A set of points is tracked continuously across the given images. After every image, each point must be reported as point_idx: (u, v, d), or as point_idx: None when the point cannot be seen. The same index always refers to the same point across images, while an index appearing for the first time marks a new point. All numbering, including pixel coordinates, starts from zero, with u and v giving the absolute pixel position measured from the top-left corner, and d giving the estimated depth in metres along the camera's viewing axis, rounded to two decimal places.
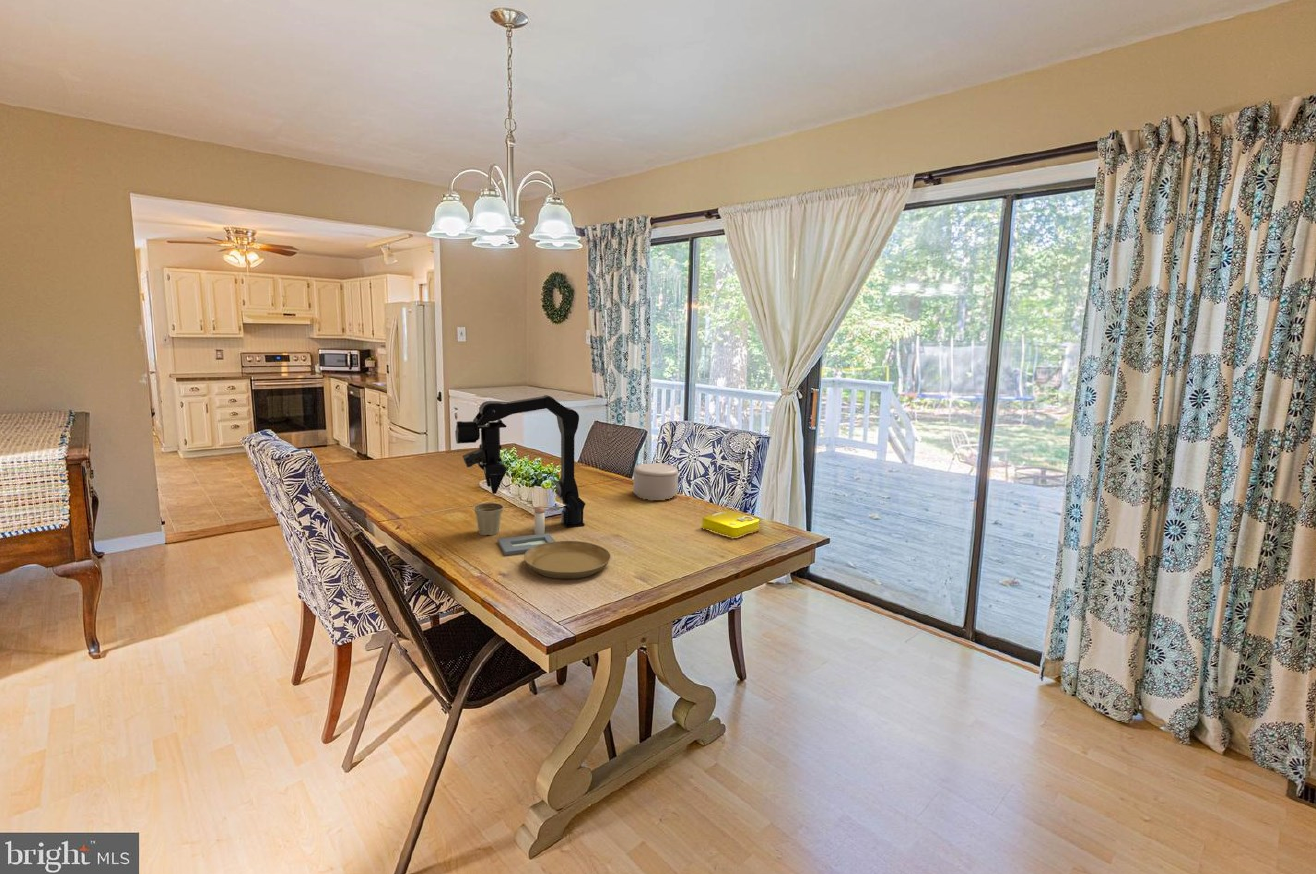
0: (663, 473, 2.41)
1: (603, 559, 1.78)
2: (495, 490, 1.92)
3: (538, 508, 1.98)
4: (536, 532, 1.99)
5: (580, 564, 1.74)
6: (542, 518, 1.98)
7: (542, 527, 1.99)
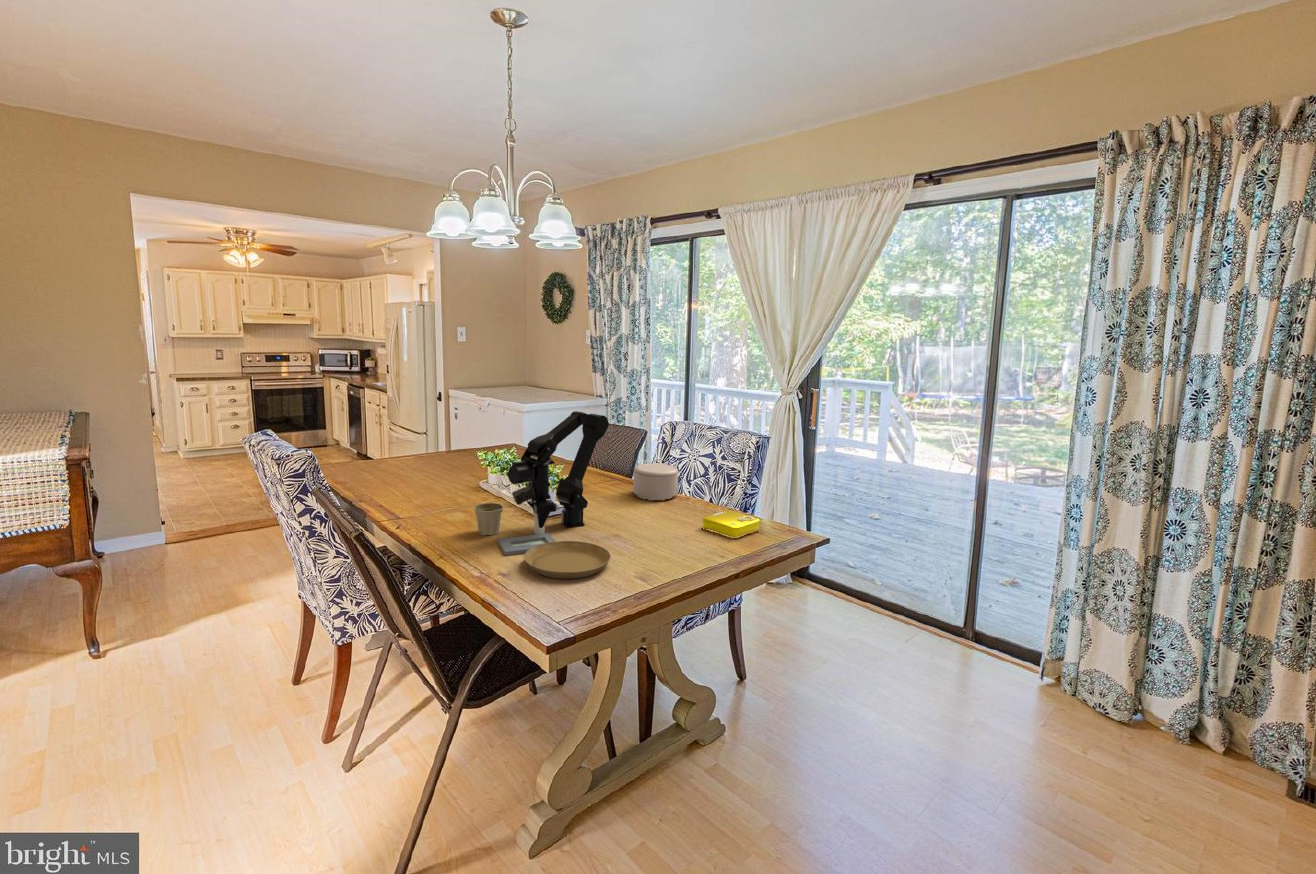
0: (663, 473, 2.41)
1: (603, 559, 1.78)
2: (542, 524, 1.98)
3: None
4: (536, 532, 1.99)
5: (580, 564, 1.74)
6: None
7: None
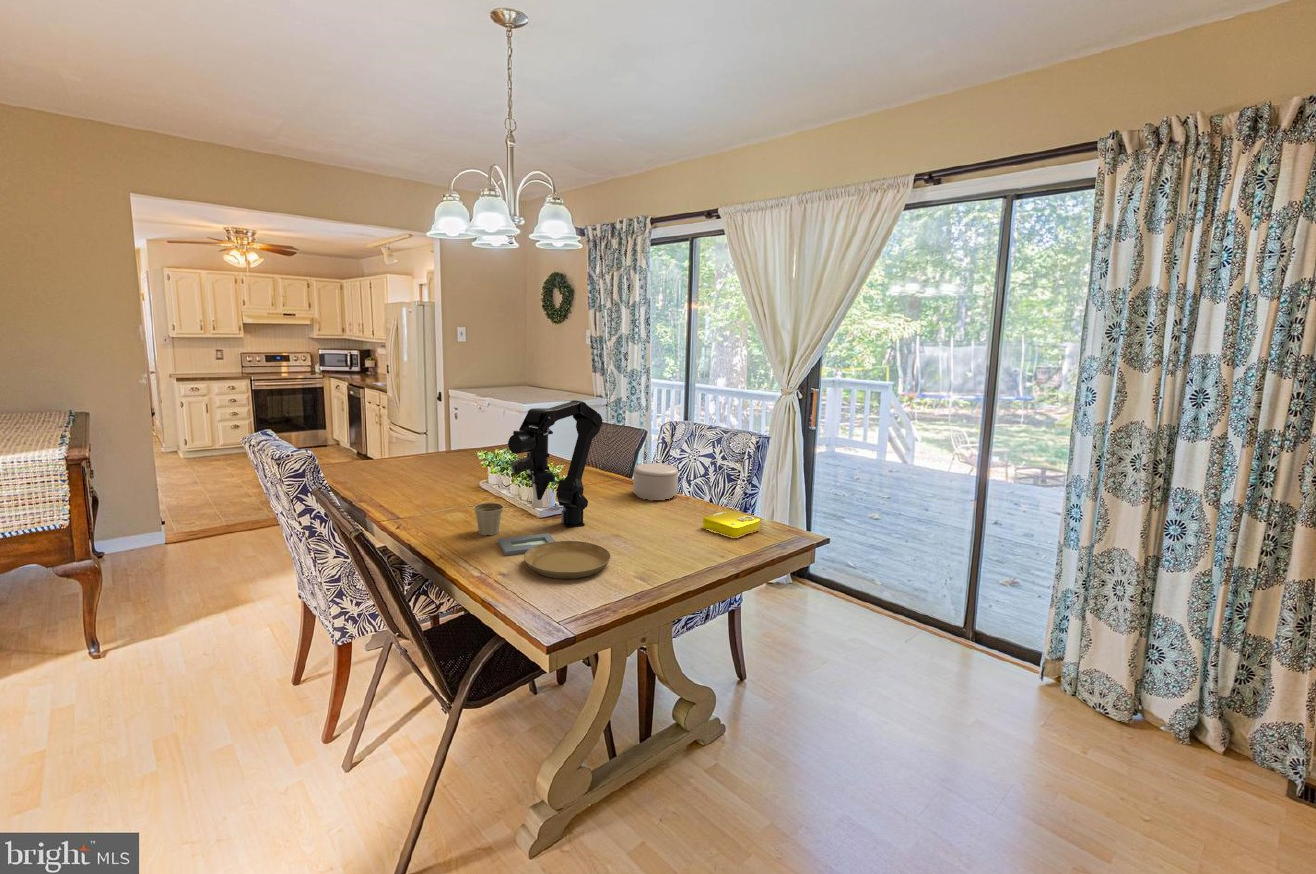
0: (663, 473, 2.41)
1: (603, 559, 1.78)
2: (540, 496, 1.92)
3: None
4: (534, 504, 1.93)
5: (580, 564, 1.74)
6: None
7: None
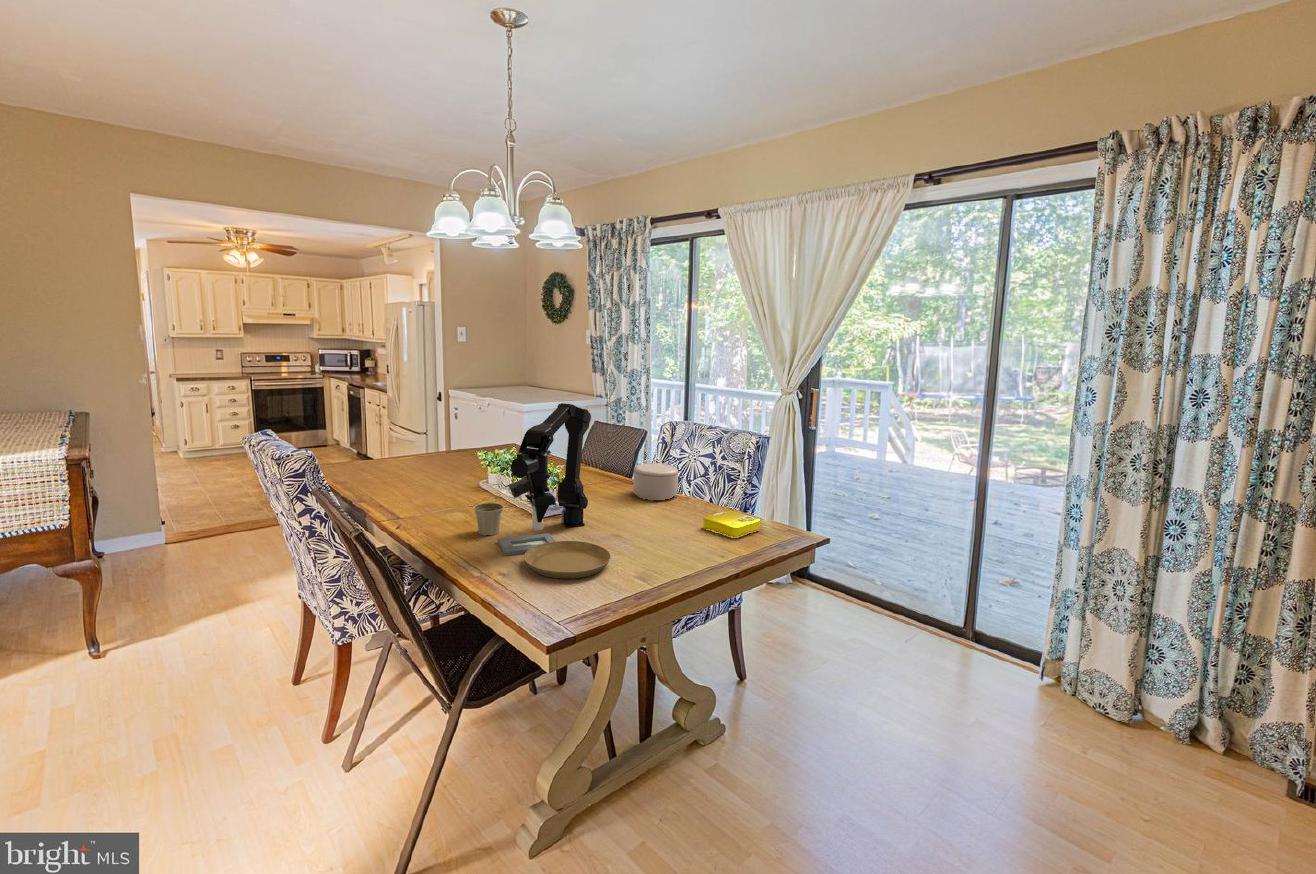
0: (663, 473, 2.41)
1: (603, 559, 1.78)
2: (540, 519, 1.87)
3: None
4: (534, 527, 1.88)
5: (580, 564, 1.74)
6: None
7: None
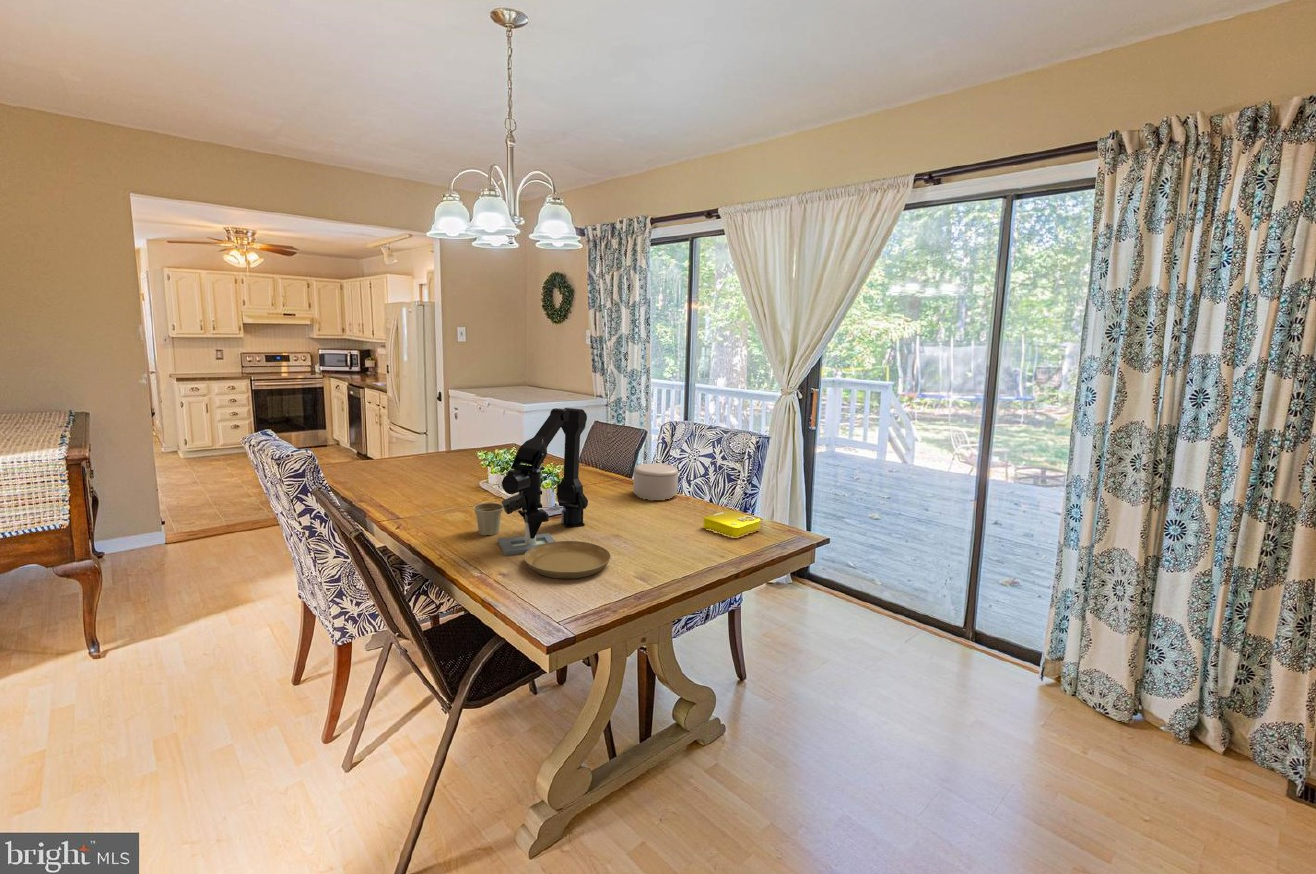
0: (663, 473, 2.41)
1: (603, 559, 1.78)
2: (533, 535, 1.86)
3: None
4: (527, 543, 1.87)
5: (580, 564, 1.74)
6: None
7: (533, 538, 1.87)
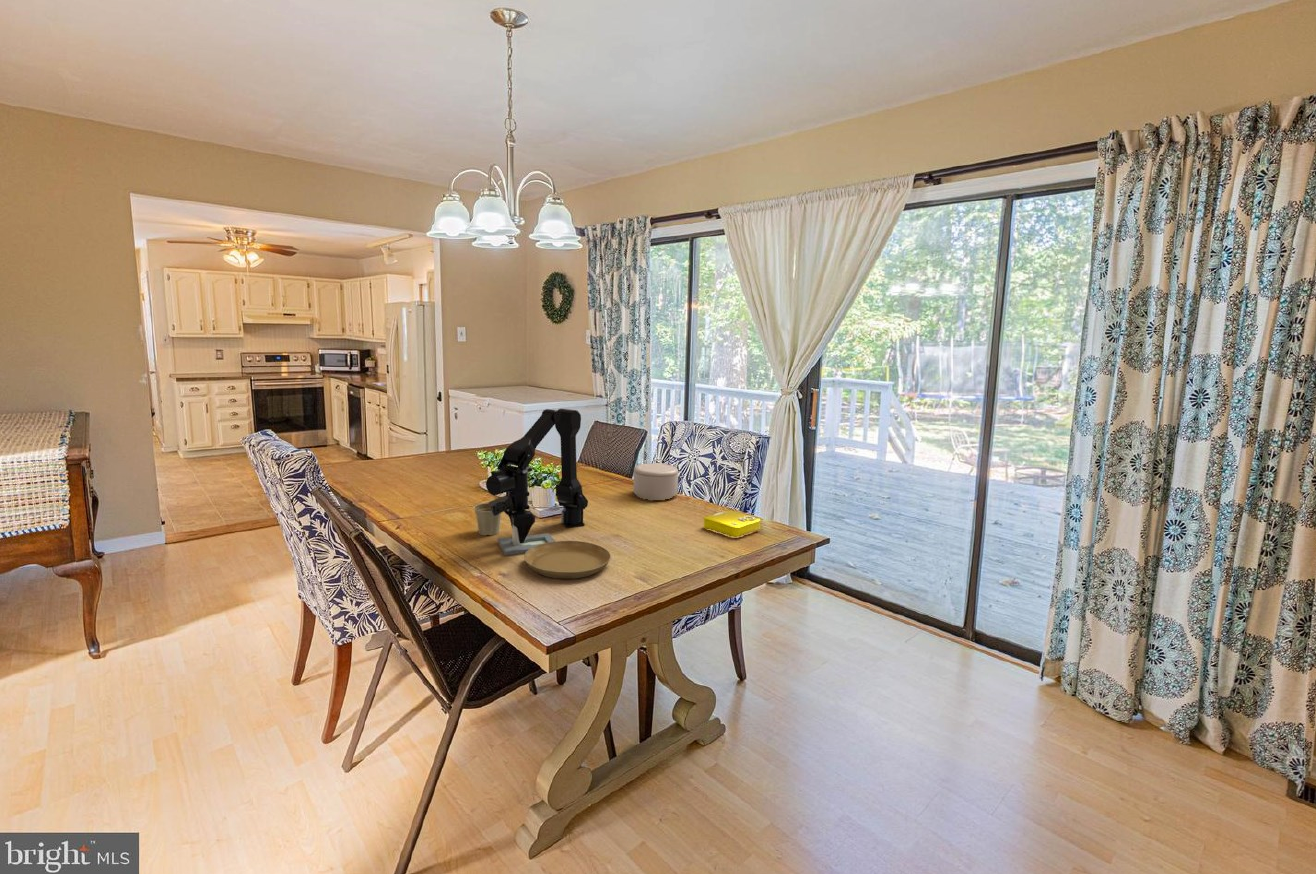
0: (663, 473, 2.41)
1: (603, 559, 1.78)
2: (522, 540, 1.82)
3: None
4: (514, 545, 1.86)
5: (580, 564, 1.74)
6: None
7: None
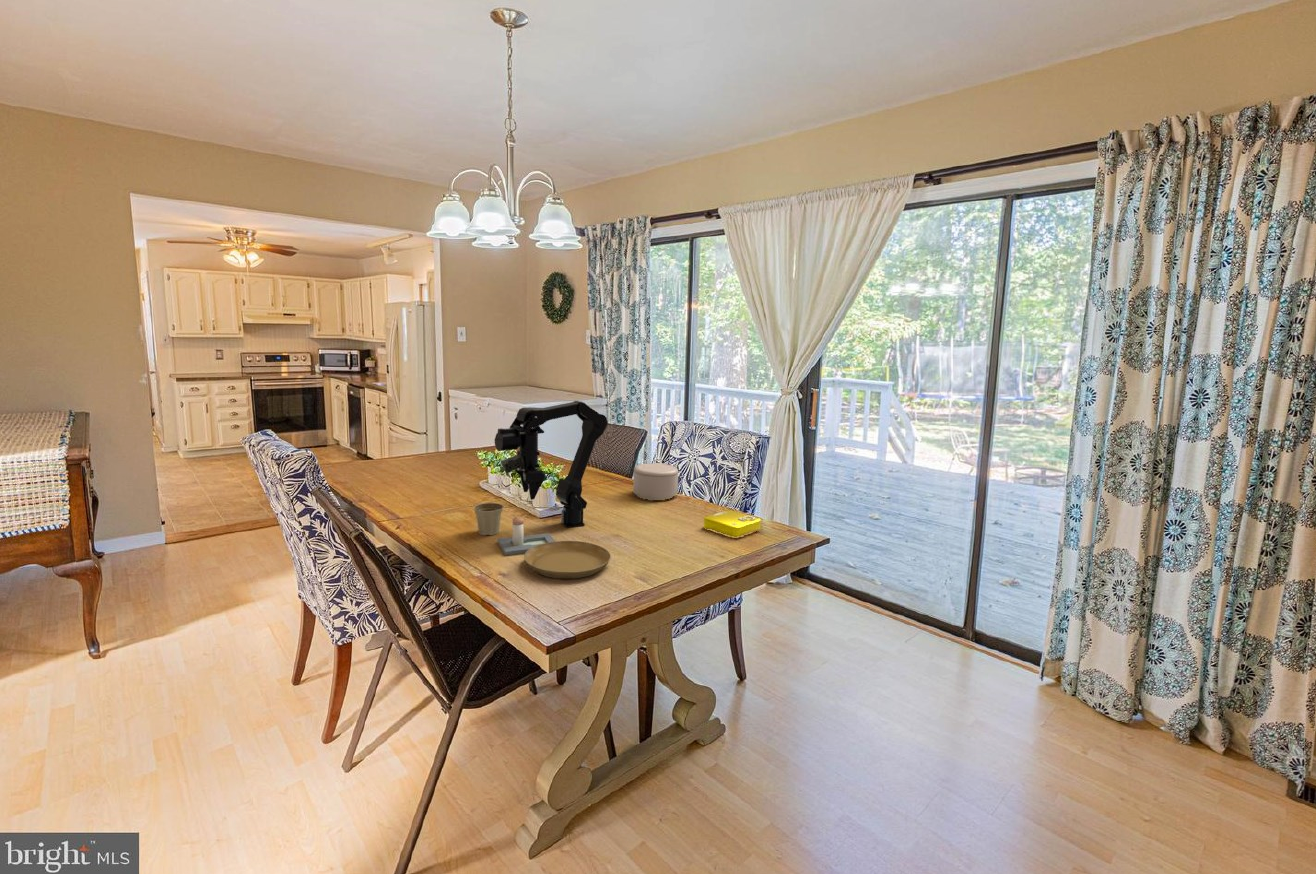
0: (663, 473, 2.41)
1: (603, 559, 1.78)
2: (533, 496, 1.94)
3: (516, 519, 1.85)
4: (514, 545, 1.86)
5: (580, 564, 1.74)
6: (520, 530, 1.85)
7: (520, 539, 1.86)
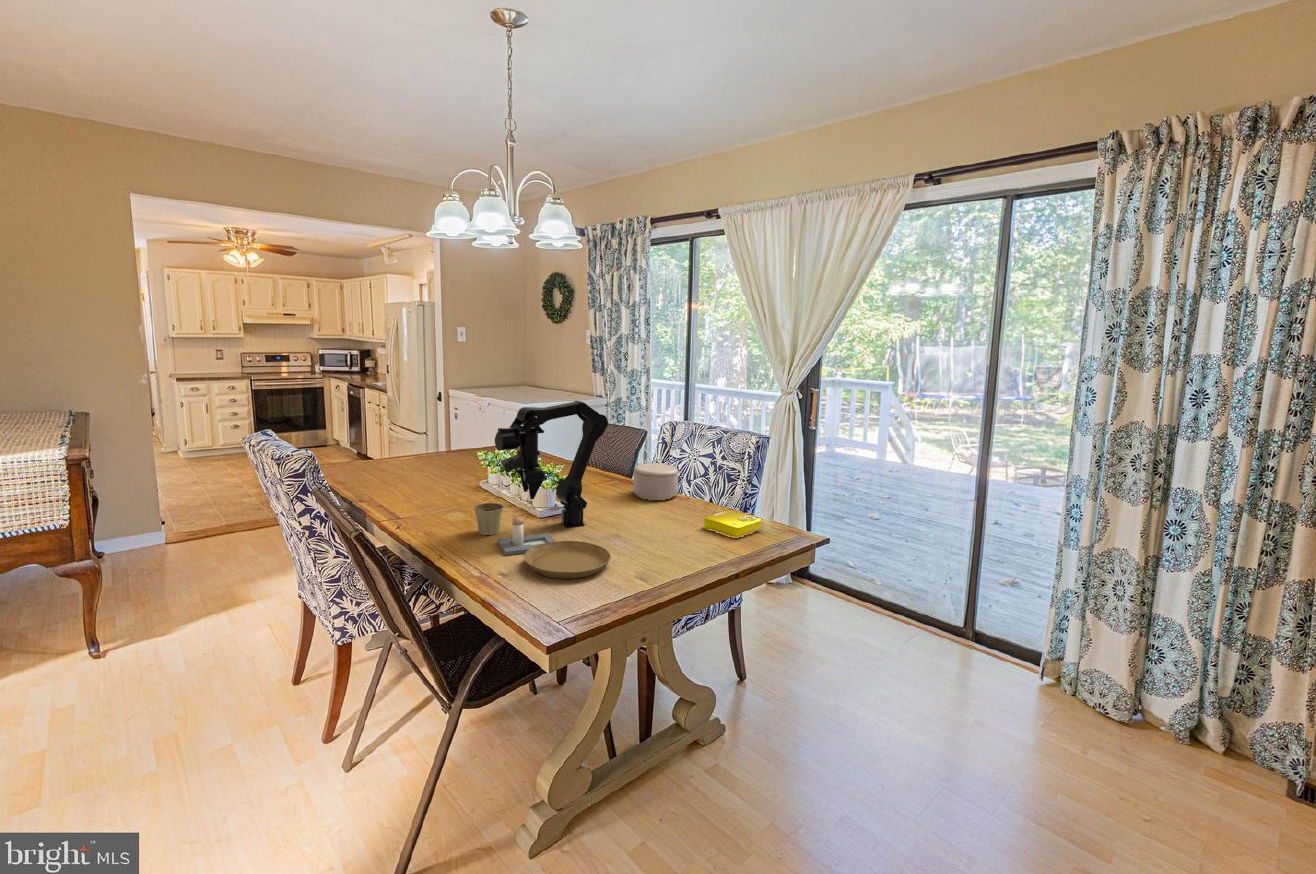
0: (663, 473, 2.41)
1: (603, 559, 1.78)
2: (533, 496, 1.94)
3: (516, 519, 1.85)
4: (514, 545, 1.86)
5: (580, 564, 1.74)
6: (520, 530, 1.85)
7: (520, 539, 1.86)
